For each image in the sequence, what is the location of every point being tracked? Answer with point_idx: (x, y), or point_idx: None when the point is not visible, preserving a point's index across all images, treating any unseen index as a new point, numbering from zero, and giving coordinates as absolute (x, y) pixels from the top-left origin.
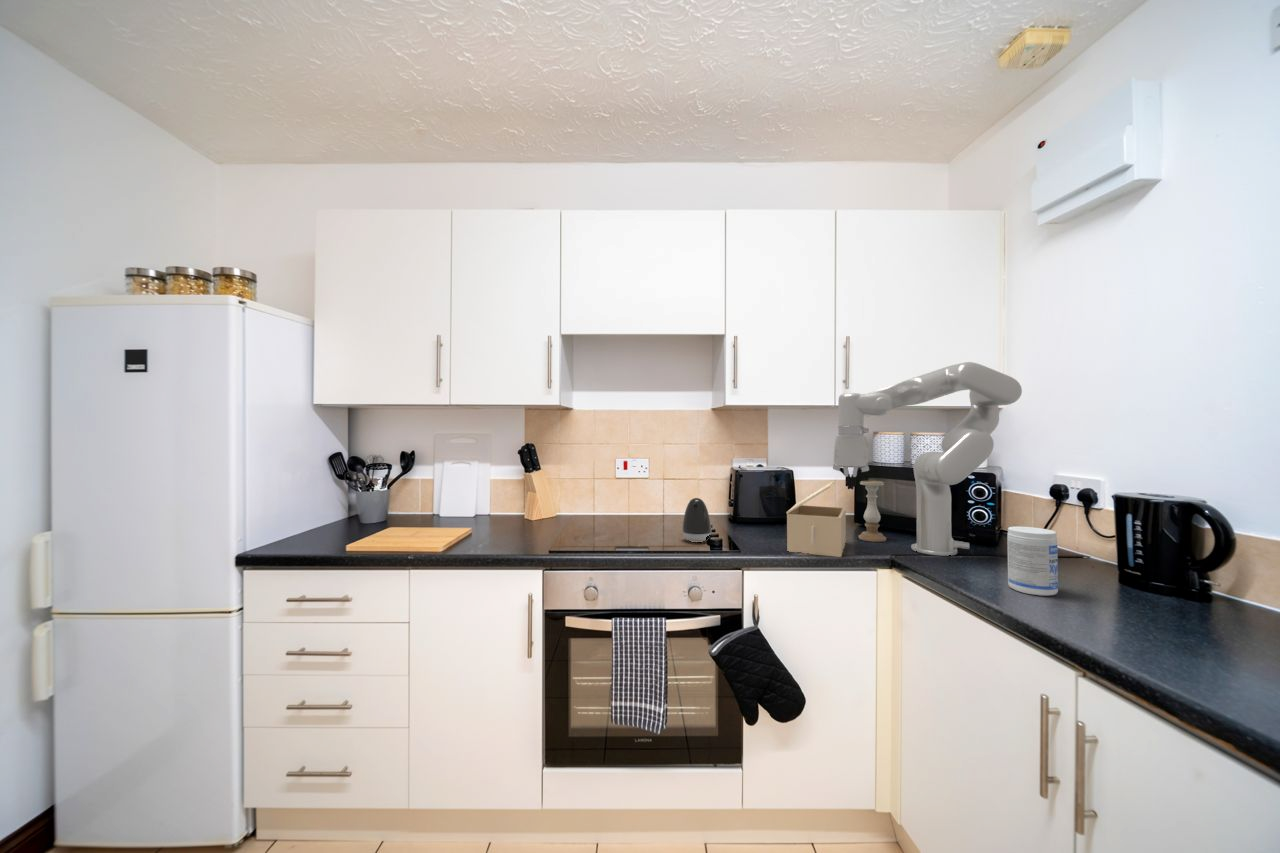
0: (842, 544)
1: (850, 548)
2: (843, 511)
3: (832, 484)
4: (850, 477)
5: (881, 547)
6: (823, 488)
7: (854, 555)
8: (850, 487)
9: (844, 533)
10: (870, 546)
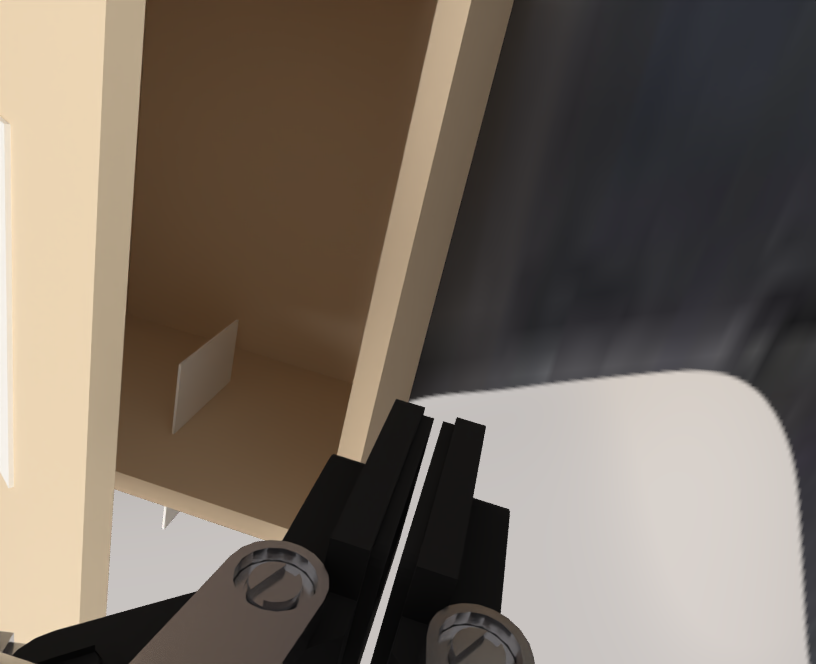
0: (424, 321)
1: (516, 166)
2: (414, 220)
3: (102, 552)
4: (374, 606)
5: (788, 79)
6: (24, 419)
7: (496, 358)
8: (422, 458)
9: (472, 117)
10: (702, 59)
